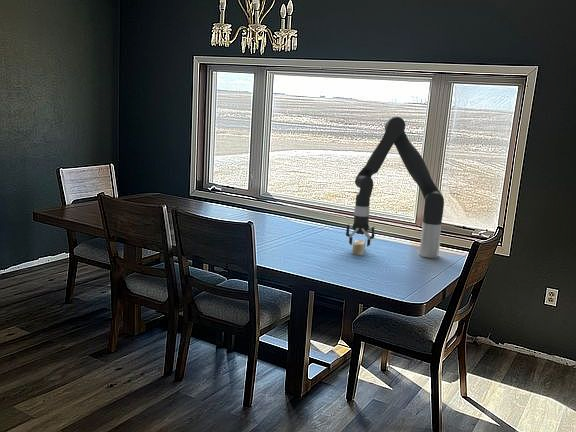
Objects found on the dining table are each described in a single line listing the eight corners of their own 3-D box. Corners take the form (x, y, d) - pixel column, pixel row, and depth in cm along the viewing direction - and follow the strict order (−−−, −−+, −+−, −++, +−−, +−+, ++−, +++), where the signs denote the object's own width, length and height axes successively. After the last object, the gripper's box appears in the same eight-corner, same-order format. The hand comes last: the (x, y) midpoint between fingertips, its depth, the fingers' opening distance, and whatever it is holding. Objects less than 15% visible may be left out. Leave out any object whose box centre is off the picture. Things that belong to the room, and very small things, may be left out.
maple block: (352, 244, 295) (356, 238, 306) (352, 253, 296) (355, 248, 307) (362, 245, 294) (365, 239, 305) (362, 255, 295) (364, 249, 306)
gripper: (376, 214, 299) (374, 245, 302) (348, 211, 302) (346, 242, 305) (375, 217, 291) (372, 248, 295) (346, 214, 295) (344, 245, 298)
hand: (359, 245), depth 300 cm, fingers open, 8 cm apart
